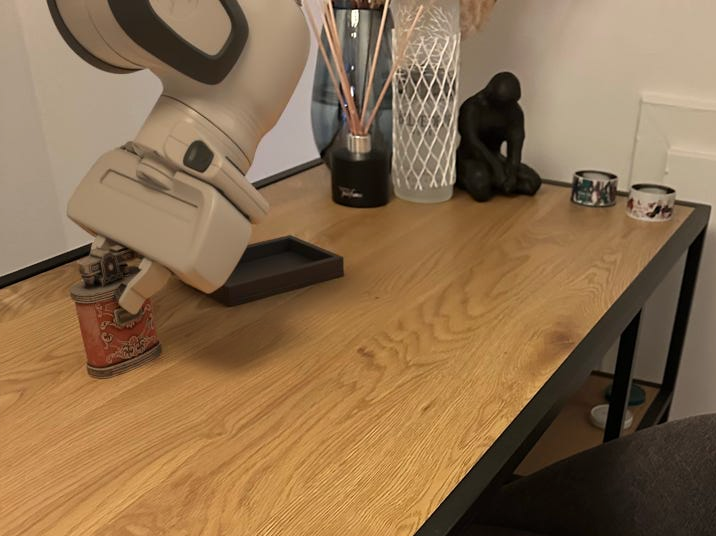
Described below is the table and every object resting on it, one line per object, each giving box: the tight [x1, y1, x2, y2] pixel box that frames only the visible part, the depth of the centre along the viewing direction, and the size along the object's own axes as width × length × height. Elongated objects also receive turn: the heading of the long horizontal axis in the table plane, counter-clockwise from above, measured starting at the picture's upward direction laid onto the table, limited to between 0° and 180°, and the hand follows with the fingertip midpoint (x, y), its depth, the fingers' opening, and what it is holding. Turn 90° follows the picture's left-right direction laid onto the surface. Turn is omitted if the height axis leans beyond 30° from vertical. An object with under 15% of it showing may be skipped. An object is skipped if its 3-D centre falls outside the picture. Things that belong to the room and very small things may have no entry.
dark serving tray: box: [177, 234, 345, 308], centre depth 104 cm, size 10×16×2 cm, turn 137°
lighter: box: [69, 244, 163, 379], centre depth 83 cm, size 8×3×10 cm, turn 152°
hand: (107, 299), depth 82 cm, fingers closed on lighter, 4 cm apart
